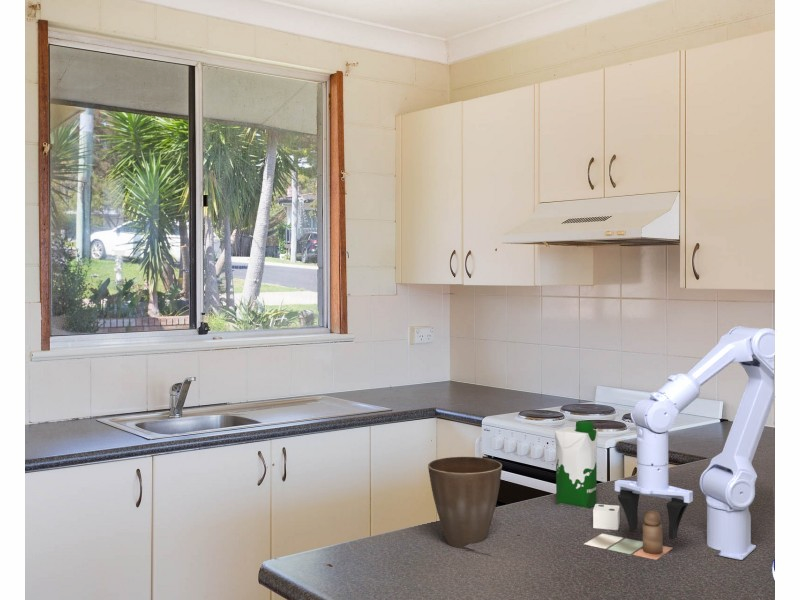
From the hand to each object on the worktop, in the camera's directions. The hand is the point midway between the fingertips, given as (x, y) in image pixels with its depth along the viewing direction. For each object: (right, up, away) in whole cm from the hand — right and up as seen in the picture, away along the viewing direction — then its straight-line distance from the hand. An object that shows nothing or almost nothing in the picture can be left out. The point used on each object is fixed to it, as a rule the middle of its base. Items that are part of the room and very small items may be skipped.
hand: (652, 534), depth 151 cm
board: (-4, -4, +3) cm, 7 cm away
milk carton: (-7, -4, +36) cm, 37 cm away
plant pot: (-35, -5, +9) cm, 37 cm away
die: (-5, -4, +17) cm, 18 cm away
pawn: (0, -3, 0) cm, 3 cm away
